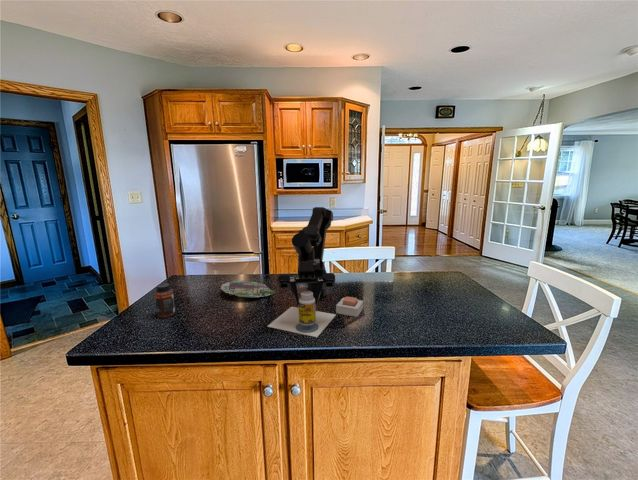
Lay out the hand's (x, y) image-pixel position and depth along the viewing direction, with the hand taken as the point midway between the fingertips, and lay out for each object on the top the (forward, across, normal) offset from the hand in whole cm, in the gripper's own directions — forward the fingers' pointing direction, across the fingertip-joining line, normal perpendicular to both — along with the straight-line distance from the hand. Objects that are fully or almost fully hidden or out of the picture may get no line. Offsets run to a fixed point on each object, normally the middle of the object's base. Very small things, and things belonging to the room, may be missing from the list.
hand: (307, 304), depth 96 cm
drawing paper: (+2, -2, +10) cm, 11 cm away
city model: (-18, -25, +31) cm, 43 cm away
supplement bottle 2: (+4, 0, +6) cm, 7 cm away
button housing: (-3, +16, +16) cm, 23 cm away
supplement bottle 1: (-3, -51, +16) cm, 53 cm away
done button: (-5, +16, +14) cm, 22 cm away
